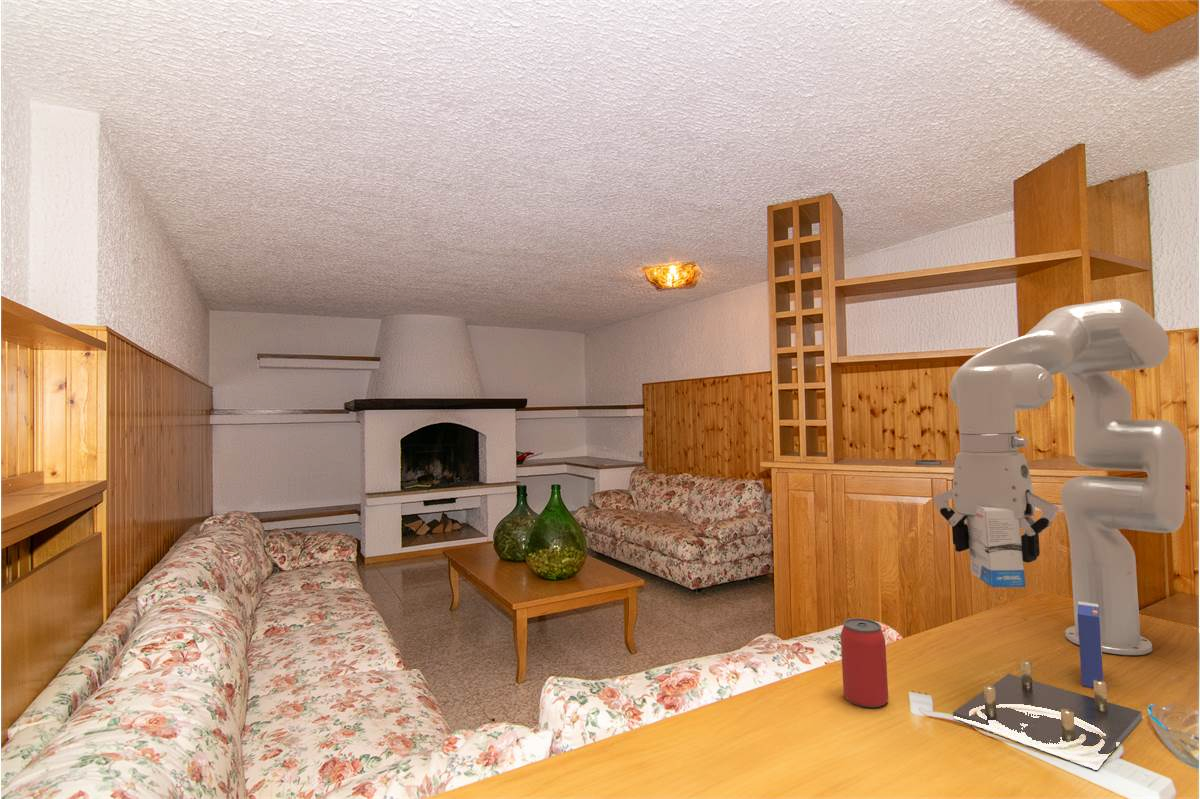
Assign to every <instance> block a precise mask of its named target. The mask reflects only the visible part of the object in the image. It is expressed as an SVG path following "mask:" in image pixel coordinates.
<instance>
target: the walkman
mask: <svg viewBox="0 0 1200 799" xmlns="http://www.w3.org/2000/svg"><path fill="white" fill-rule="evenodd" d="M1099 618H1100V616H1099V607H1098V604H1093V603H1088V602H1080V601H1079V602H1078V630H1079V645H1078V646H1079V647H1078V648H1079V660H1080V677H1081V679H1080V680H1081V686H1082V687H1086V688H1087V687H1088V688H1092V689H1094V680H1102V681H1104V674H1103V673H1104V671H1103V670H1104V669H1103V652H1102V647H1101V636H1100V620H1099Z"/></svg>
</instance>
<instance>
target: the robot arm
mask: <svg viewBox="0 0 1200 799" xmlns="http://www.w3.org/2000/svg"><path fill="white" fill-rule="evenodd" d="M1169 351H1170V341H1169V336H1168V334H1167V333H1166V330H1165V329H1164V327H1163V326H1162V325H1161V323H1159V322H1158V321H1157V320H1156V319H1155V318H1154V317H1152V316H1151V315H1150V314H1149V313H1148V312H1147V311H1146V310H1145V309H1144V308H1142V307H1141V306H1139V305H1138V304H1137V303H1135V302H1133V301H1130V300H1129V299H1124V298H1113V299H1105V300H1098V301H1092V302H1087V303H1077V304H1071V305H1065V306H1063V307H1059V308H1055V309H1054V310H1052V311H1050V312H1049V313H1047V315H1045V316H1044V317H1043V318H1042V319H1041V320H1040V321H1039V322H1038V323H1036V325H1035V326H1033V327H1032V328H1031V329H1030V330H1029V331H1027V332H1026V334H1024V335H1022V336H1019V337H1016V338H1013V339H1010V340H1008V341H1006V342H1004V343H1001V344H998V345H996V346H994V347H991V348H988V349H986V350H983V351H982V352H979V353H977V354H975V355H974V356H972V357H971V358H969V359H968V360H967V361H965V362H964V363H963V364H962V365H961V366H960V367H959V368H958V369H957V371H956V372H955V373H954V374H953V376H952V377H951V381H950V384H949V395H950V399H951V401H952V403H953V404H954V405H955V406H956V407H957V415H958V416H957V417H958V431H959V436H958V437H959V447H960V448H959V449H960V452H958V453H956V455H955V461H954V465H953V466H954V467H953V475H952V488H951V489H949V490H947V491H945V492H943V493H940V494H938V495H936V496H934V497H933V502H934V503H935V504H936V507H937V508H938V509H939V513H940V515H942V516H943V518H944V519H945V520H946V521H947V523H948V525H949V526H950V527H951V530H952V532H951V533H952V544H953V545H954V547H955V549H954V550H955V552H957V553H958V552H960V553H961V552H964V551H967V550H969V541H968V527H967V523H965V522H966V521H967V517H968V516H971V517H975V516H976V508H977V506H984V507H993V508H1002V509H1009V510H1012V511H1013V514H1014V518H1015V519H1018V520H1020V530H1022V531H1023V533H1024V534H1023V535H1021V542H1022V556H1023V563H1027V564H1028V563H1031V562H1034V561H1036V560H1037V559H1038V557H1039V556H1040V552H1041V550H1040V537H1039V534H1041V533H1042V532H1043V531H1044V530H1045V529H1047V527H1049V526H1050V525H1051V524H1052V523H1053V520H1054V519H1055V518H1056V516H1057V514H1058V513H1059V511H1060V508H1059V507H1058V506H1057V505H1056V504H1054V503H1051V502H1050V501H1048V500H1046V499H1044V498H1042V497H1040V496H1038V495H1036V494H1034V488H1033V482H1032V477H1031V474H1030V473H1031V472H1030V468H1029V464H1028V460H1027V459H1026V455H1025V453H1020V452H1019V453H1018V451H1019V450H1020V448H1023V447H1024V448H1026V447H1028V444H1029V443H1028V439H1027V438H1026V437H1021V436H1019V433H1018V432H1017V423H1016V422H1017V421H1016V412H1017V411H1018V412H1019V411H1020V412H1021V411H1033V410H1038V409H1040V408H1042V407H1044V406H1046V405H1047V404H1048V403H1050V401H1051V399H1052V398H1053V395H1054V391H1055V382H1054V379H1053V376H1055V375H1057V374H1060V373H1061V374H1062V375H1063V376H1064V379H1065V380H1066V381H1067V383H1068V385H1069V387H1070V389H1071V391H1072V394H1073V397H1074V421H1073V423H1074V425H1073V454H1074V458H1075V460H1076V462H1077V463H1078V464H1079V465H1081V466H1083V467H1086V468H1089V469H1096V470H1111V471H1126V472H1129V471H1131V472H1132V471H1133V472H1145V473H1146V474H1147V478H1142V477H1141V478H1139V477H1122V476H1114V475H1113V476H1111V475H1110V476H1109V475H1108V476H1107V475H1080V476H1075V477H1072V478H1070V479H1068V480H1067V481H1065V482H1064V484H1063V486H1062V487H1061V490H1060V501H1061V506H1062V510H1063V512H1064V513H1063V514H1064V516H1065V520H1066V526H1067V531H1068V537H1069V538H1068V539H1069V549H1070V552H1069V553H1070V563H1071V564H1070V568H1071V583H1072V597H1073V598H1072V599H1073V600H1072V601H1073V616H1074V617H1073V618H1074V625H1073V626H1069V627H1067V628H1066V629H1065V633H1064V634H1065V638H1067V640H1068V641H1069V642H1071V643H1074V644H1076V645H1077V646H1079V630H1078V602H1079V601H1080V602H1088V603H1093V604H1098V607H1099V616H1100V618H1099V620H1100V636H1101V647H1102V653H1105V654H1113V655H1119V656H1120V655H1122V656H1143V655H1147V654H1150V653H1151V652H1152V651H1153V643H1152V641H1150V640H1149V639H1148V638H1146V637H1145V636H1141V626H1140V625H1141V624H1140V610H1139V595H1138V593H1139V592H1138V581H1137V580H1138V579H1137V577H1138V576H1137V561H1136V559H1137V558H1136V554H1135V550H1134V549H1133V546H1132V545H1131V543H1130V542H1129V540H1128V539H1127V538H1126V537H1125V535H1123V533H1121V531H1120V530H1132V531H1140V532H1148V533H1149V532H1150V533H1158V534H1167V533H1169V534H1170V533H1174V532H1177V531H1179V529H1181V527H1182V525H1183V524H1184V520H1185V513H1186V480H1187V478H1186V474H1187V473H1186V471H1187V470H1186V467H1187V465H1186V463H1187V456H1186V455H1187V454H1186V452H1187V450H1186V443H1185V439H1184V435H1183V434H1182V431H1181V430H1180V429H1179V427H1178V426H1177V425H1175V424H1174V423H1172V422H1170V421H1168V420H1162V419H1132V402H1133V401H1132V398H1133V397H1132V395H1131V393H1130V392H1129V390H1128V388H1127V387H1125V385H1124V384H1123V383H1121V382H1120V381H1119V380H1118V379H1117V378H1115V377H1114V376H1113V375H1112V374H1110V373H1109V372H1114V371H1115V372H1116V371H1130V370H1131V371H1133V370H1145V369H1152V368H1155V367H1158V366H1160V365H1162V363H1164V362H1165V361H1166V359H1167V358H1168V355H1169ZM951 499H952V502H953V505H952V506H953V508H954V510H953V509H952V508H951V507H950V505H949V504H948V501H949V500H951ZM1036 508H1037V509H1039V510H1040V511H1041V512H1042V513H1041V516H1040V518H1039V519H1037V520H1035V519H1034V517H1032V516H1034V515H1035V513H1036V512H1035V511H1036ZM1119 529H1120V530H1119Z"/></svg>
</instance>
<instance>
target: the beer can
mask: <svg viewBox="0 0 1200 799" xmlns="http://www.w3.org/2000/svg"><path fill="white" fill-rule="evenodd" d="M881 628H882V626H881V624H880V623H879V622H877V621H875V620H872V619H868V618H858V617H857V618H848V619H845V620H844V621H843V627H842V629H841V633H840V649H841V666H842V667H841V669H842V670H841V673H842V688H843V690H842V691H843V695H844V697H845V699H847V701H849V702H850V703H852V704H854V705H857V706H859V707H863V708H880V707H883V706H884V705H886V704H887V703H888V700H889V686H888V684H889V683H888V670H887V669H888V665H887V649H886V645H887V644H886V639H885V635H884V633H883V631H882V629H881Z"/></svg>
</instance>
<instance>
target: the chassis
mask: <svg viewBox="0 0 1200 799" xmlns="http://www.w3.org/2000/svg"><path fill="white" fill-rule="evenodd" d="M1020 675H1021V676H1018V675H1015V674H1011V673H1008V674H1006V675H1005V676H1003V677H1001V679H999V680H997V681H996V682H994V683H993V684H991V685H990V684H984V685H983V690H982V691H981V692H980V693H979V694H977V695H976V696H974V697H973V698H971V699H970V700H968V701H967V702H966V703H963V705H961V706H959V707H958V708H957V709H955V710H954V711H953V712H952V717H953V716H957V717H960V718H963V719H967V720H972V721H976V722H979V723H981V724H986V725H989V723H988V720H996V721H998V722H999V723H1001V724H1002V725H1005V727H1008V728H1009V729H1011V730H1013V729H1014V731H1015V730H1017V732H1018V733H1019V732H1020V733H1021V731H1022V732H1025V733H1026V735H1027V736H1028V737H1031V738H1032V740H1036V741H1041V742H1042V743H1046V744H1047V743H1048V744H1049V742H1050V743H1053V744H1054V743H1056V744H1057V743H1058V742H1060V740H1061V739H1060V737H1062V740H1063V741H1066V742H1070V741H1074V740H1076V739H1078V738H1079V736H1080V735H1081V734H1085V735H1086V740H1085V741H1084V742H1083V743H1082V744H1081V745H1083V746H1094V745H1096V744H1098V743H1099V742H1100V740H1101V739H1103V740H1104V741H1105V744H1104V746H1103V747H1102V748H1101V750H1100V751H1098V753H1099V754H1109V753H1111V752H1112V751H1114V750H1115V748H1116V742H1120V743H1121V744H1122V743H1123V741H1125V739H1126V738H1127V737H1128V736H1129V735H1130V733H1131V732H1132V731H1133V730H1134V729H1135V728H1136V726H1137V725H1138V724H1139V723H1140V722H1141V721H1142V720H1143V714H1142V713H1143V712H1142V710H1141V711H1140V710H1137V709H1133V708H1130V707H1126V706H1123V705H1120V704H1115V703H1113V702H1109V701H1108V697H1107V694H1108V693H1107V683H1106V681H1105V680H1103V681H1102V680H1094V688H1093V693H1094V697H1091V696H1089V695H1084V694H1081V693H1078V692H1074V691H1070V690H1067V689H1064V688H1060V687H1056V686H1054V685H1050V684H1046V683H1043V682H1040V681H1035V680H1033V671H1032V662H1031V661H1029V660H1026V659H1022V660H1020ZM999 704H1024V705H1031V706H1035V707H1042V708H1047V709H1051V710H1055V711H1059V712H1061V720H1060V719H1056V718H1050V717H1047V716H1044V715H1043V716H1042V715H1037V716H1040V717H1039V718H1033V717H1031V714H1029V716H1028V712H1027V715H1025V713H1023V712H1019V711H1016V710H1014V709H1011V708H1007V707H1006V708H1002V707H1001V708H996V705H999ZM983 705H985V709H981V710H980V711H981V712H982V713H984V714H985V715H986V716H987V720H985V719H983V718H981V717H979V716H978V715H977V714H974V715H971V716H969V711H970V710H971V709H973V708H976V707H979V706H983ZM1032 716H1033V714H1032ZM1034 716H1036V715H1034ZM1074 717H1077V718H1079V719H1081V720H1083V721H1085V722H1087V723H1089V724H1091V725H1094V726H1095V727H1097V728H1099V729H1100V730H1101V731H1102V732H1103V733H1105V734H1106V736H1104V737H1103V736H1102V737H1101V736H1100V735H1099V734H1096V733H1093V732H1089V731H1086V730H1085V729H1083V728H1081V727H1079V726H1077V725H1075V724H1074ZM1020 723H1021V724H1022V723H1024V724H1028V726H1026V727H1025V728H1024V727H1023V726H1021V725H1020ZM1022 727H1023V730H1022V729H1021V728H1022ZM1050 740H1051V741H1050ZM1058 744H1059V743H1058ZM1116 749H1117V748H1116ZM1115 751H1116V750H1115ZM1115 751H1114V752H1115Z"/></svg>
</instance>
